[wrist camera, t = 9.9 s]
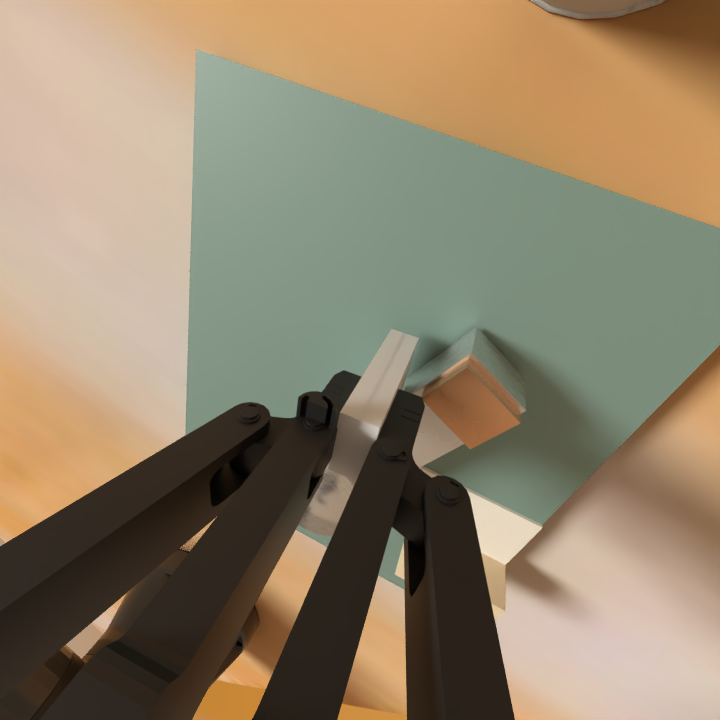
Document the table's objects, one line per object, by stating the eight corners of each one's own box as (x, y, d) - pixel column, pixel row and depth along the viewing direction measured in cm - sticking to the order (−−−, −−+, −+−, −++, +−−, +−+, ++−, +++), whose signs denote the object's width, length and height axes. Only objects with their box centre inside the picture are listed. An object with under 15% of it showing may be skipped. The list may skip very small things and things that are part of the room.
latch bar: (344, 493, 24) (318, 544, 21) (297, 448, 24) (263, 493, 21) (532, 386, 17) (538, 440, 13) (467, 316, 16) (457, 355, 13)
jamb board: (454, 599, 28) (446, 661, 24) (194, 458, 31) (155, 495, 28) (782, 250, 13) (885, 281, 9) (215, 56, 16) (136, 25, 13)
